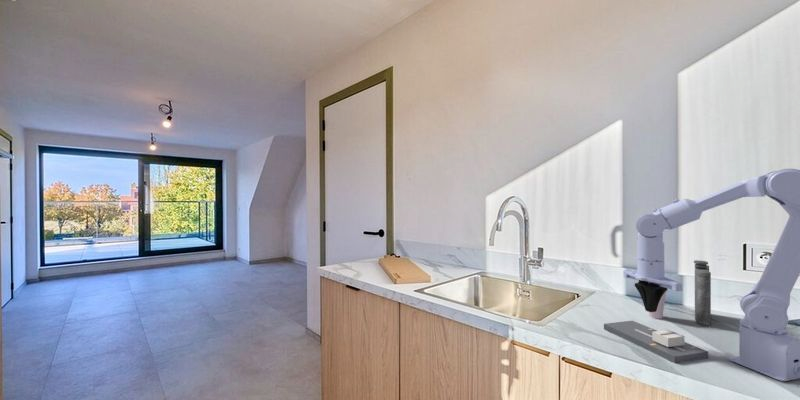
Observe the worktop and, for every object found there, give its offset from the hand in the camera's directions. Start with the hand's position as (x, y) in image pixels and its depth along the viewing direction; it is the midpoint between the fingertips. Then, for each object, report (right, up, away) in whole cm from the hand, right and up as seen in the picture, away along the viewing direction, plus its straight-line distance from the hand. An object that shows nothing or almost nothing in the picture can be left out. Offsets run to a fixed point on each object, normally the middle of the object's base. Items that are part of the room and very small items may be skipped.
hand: (650, 311), depth 87 cm
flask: (+27, -8, +15) cm, 32 cm away
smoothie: (+15, -8, +18) cm, 24 cm away
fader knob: (+1, -6, -4) cm, 8 cm away
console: (0, -8, 0) cm, 8 cm away
